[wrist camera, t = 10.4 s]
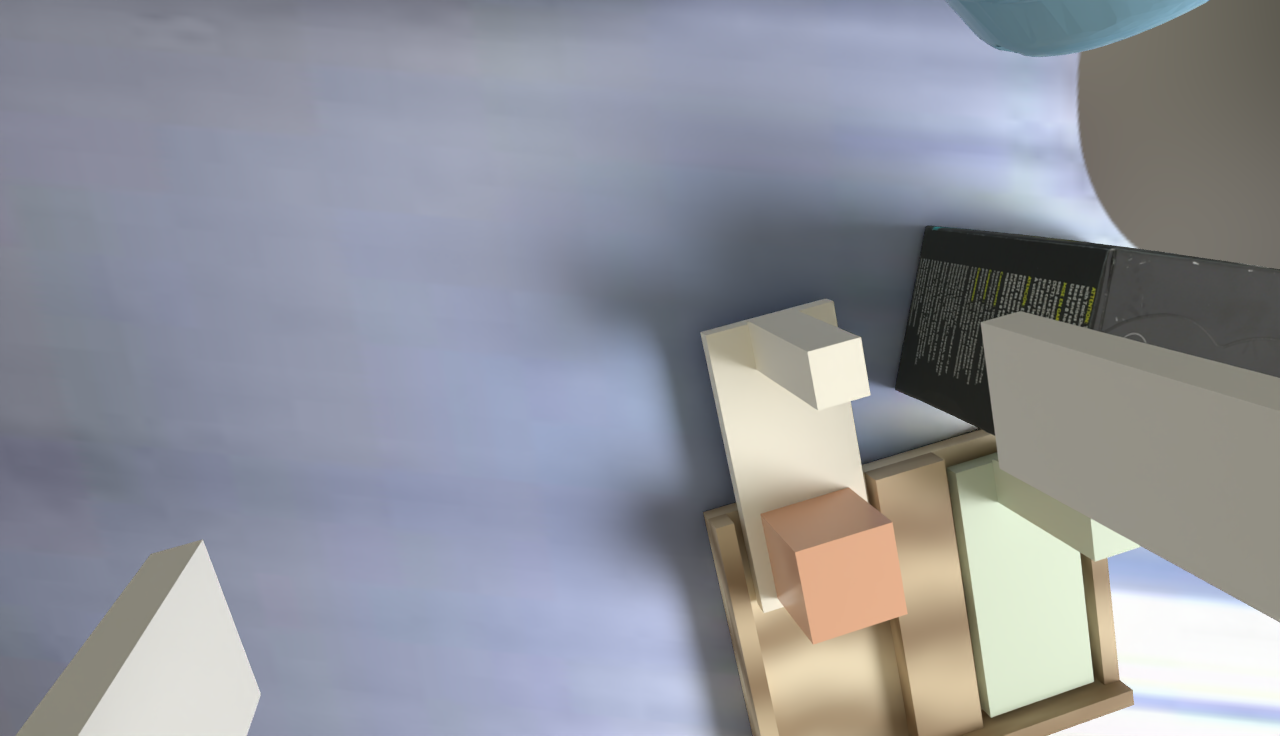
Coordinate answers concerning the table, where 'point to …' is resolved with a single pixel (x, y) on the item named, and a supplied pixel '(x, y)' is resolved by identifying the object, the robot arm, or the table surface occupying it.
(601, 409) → the table surface
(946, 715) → the lane board
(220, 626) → the robot arm
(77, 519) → the table surface
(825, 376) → the strip cream
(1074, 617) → the pale green l-shaped bracket
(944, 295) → the tampon box
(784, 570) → the cube
